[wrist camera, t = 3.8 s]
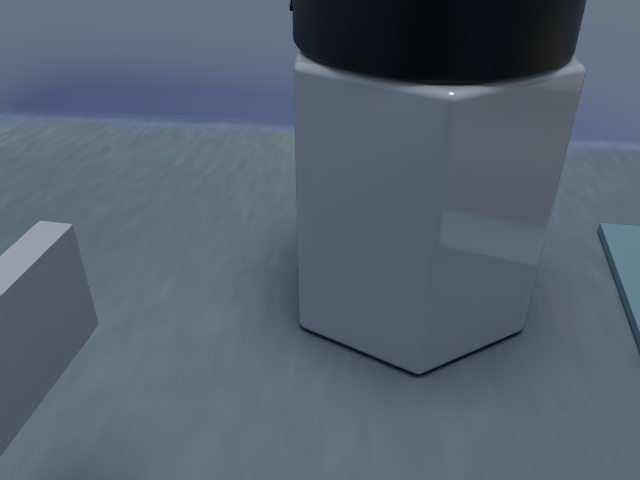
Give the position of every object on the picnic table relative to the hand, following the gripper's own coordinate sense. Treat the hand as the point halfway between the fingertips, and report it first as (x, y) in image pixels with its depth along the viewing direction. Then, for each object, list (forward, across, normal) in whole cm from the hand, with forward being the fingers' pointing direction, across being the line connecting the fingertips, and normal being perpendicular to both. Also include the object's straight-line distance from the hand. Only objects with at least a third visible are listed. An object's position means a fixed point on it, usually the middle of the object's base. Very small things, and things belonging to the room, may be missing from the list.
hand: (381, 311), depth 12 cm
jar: (+9, 0, -7) cm, 11 cm away
